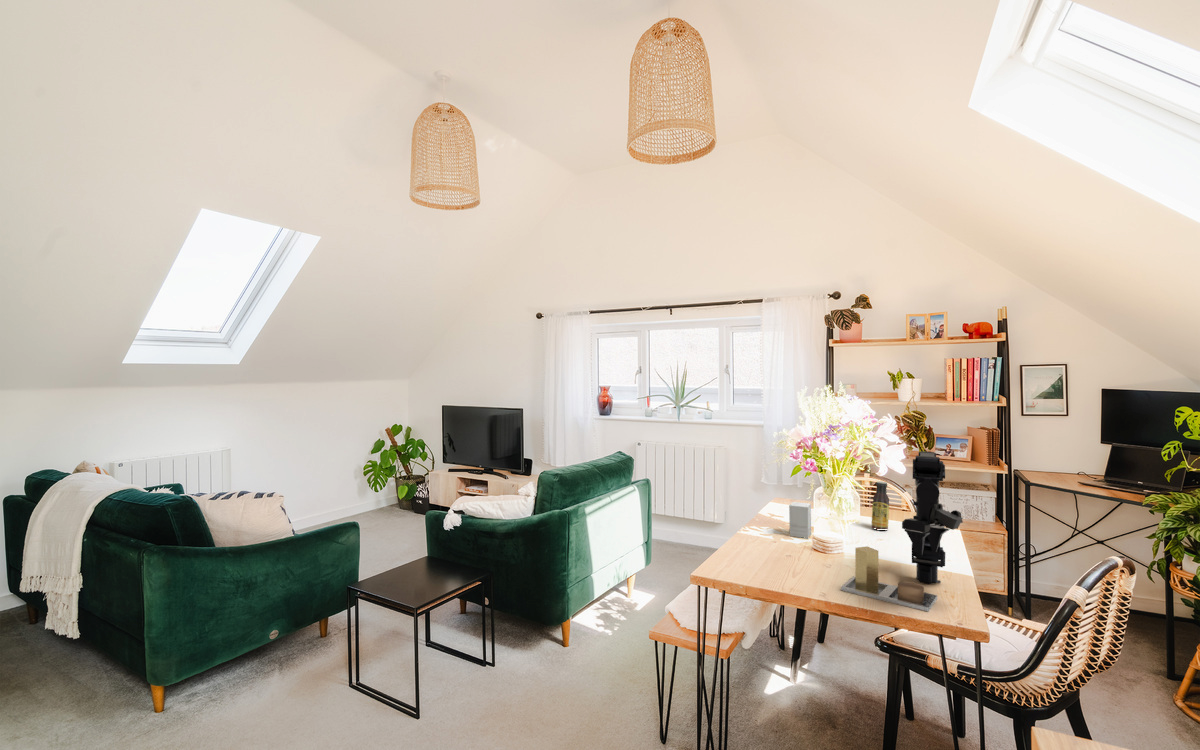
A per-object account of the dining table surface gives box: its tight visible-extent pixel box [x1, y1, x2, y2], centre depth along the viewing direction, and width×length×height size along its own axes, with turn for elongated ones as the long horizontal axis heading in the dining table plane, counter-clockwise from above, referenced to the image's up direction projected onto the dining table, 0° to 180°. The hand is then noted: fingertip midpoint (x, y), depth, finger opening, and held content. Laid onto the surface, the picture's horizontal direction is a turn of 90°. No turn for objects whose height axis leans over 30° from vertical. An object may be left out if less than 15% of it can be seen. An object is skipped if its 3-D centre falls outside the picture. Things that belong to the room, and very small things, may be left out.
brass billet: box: [854, 545, 879, 592], centre depth 169 cm, size 4×4×12 cm
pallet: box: [840, 576, 938, 612], centre depth 165 cm, size 12×23×2 cm, turn 49°
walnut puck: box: [897, 581, 925, 604], centre depth 162 cm, size 7×7×4 cm
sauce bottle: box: [871, 481, 890, 529], centre depth 237 cm, size 7×6×20 cm
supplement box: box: [788, 501, 812, 539], centre depth 229 cm, size 7×7×13 cm
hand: (927, 553), depth 165 cm, fingers open, 9 cm apart
